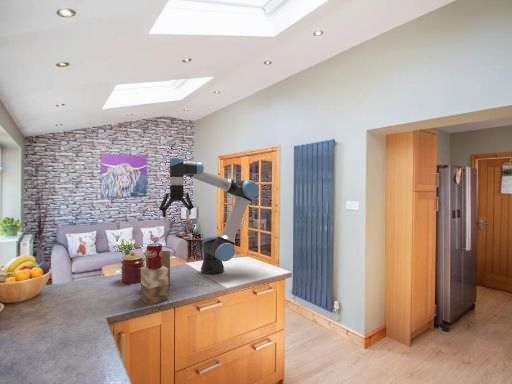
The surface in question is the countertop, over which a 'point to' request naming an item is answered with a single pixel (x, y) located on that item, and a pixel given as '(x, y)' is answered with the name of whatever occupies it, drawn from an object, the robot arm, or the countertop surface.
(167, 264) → the block
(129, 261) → the canister
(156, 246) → the soda can
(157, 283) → the tower top
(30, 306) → the countertop surface
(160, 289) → the tower base
